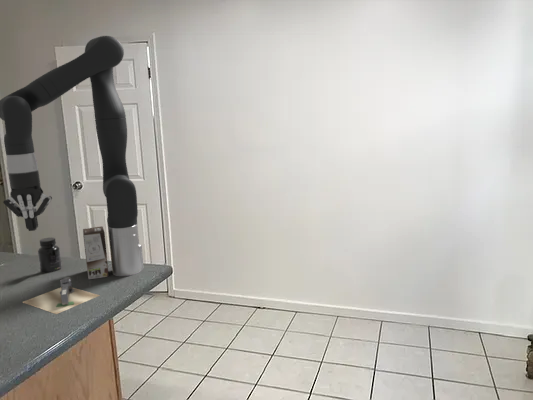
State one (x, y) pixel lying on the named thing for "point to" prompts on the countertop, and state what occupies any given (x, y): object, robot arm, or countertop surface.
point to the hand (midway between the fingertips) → (32, 230)
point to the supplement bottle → (49, 256)
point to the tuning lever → (65, 289)
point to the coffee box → (95, 252)
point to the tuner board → (54, 303)
